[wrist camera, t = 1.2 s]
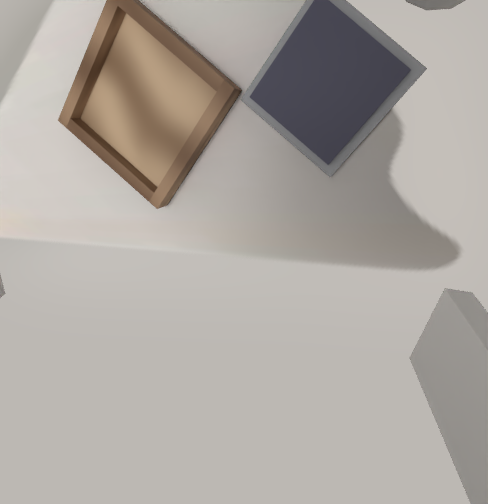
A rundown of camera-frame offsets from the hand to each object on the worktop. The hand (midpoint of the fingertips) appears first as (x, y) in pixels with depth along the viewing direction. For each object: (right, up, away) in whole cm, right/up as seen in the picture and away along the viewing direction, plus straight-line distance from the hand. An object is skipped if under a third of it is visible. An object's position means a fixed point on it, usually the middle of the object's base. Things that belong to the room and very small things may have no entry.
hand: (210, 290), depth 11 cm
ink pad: (+7, +13, +15) cm, 21 cm away
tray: (-7, +13, +20) cm, 25 cm away
